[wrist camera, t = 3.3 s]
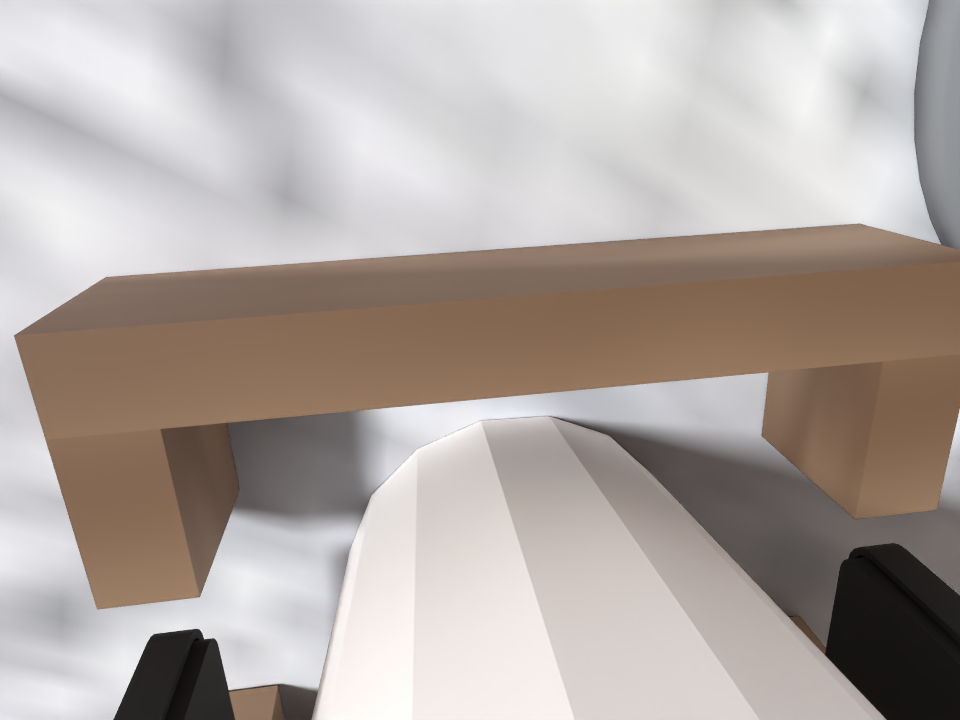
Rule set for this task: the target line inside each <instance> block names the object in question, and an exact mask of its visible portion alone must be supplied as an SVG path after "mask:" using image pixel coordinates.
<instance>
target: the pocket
mask: <svg viewBox="0 0 960 720" xmlns="http://www.w3.org/2000/svg"><path fill="white" fill-rule="evenodd" d="M14 337H15V340H16V344H17V347H18V350H19V354H20V357H21V360H22V363H23V367H24V370H25V373H26V377H27V380H28V383H29V387H30V390H31V393H32V396H33V400H34V403H35V406H36V410H37V413H38V416H39V419H40V423H41V426H42V429H43V433H44V436H45V439H46V443H47V446H48V449H49V452H50V456H51V459H52V462H53V466H54V469H55V472H56V475H57V479H58V482H59V485H60V489H61V492H62V495H63V499H64V502H65V505H66V508H67V512H68V515H69V518H70V522H71V525H72V528H73V531H74V535H75V538H76V541H77V545H78V548H79V551H80V555H81V558H82V561H83V564H84V568H85V571H86V574H87V578H88V581H89V584H90V587H91V591H92V594H93V597H94V601H95V604H96V607H97V609H105V608H113V607H121V606H130V605H138V604H147V603H155V602H164V601H172V600H181V599H189V598H197V597H200V595H201V593H202V590H203V587H204V584H205V582H206V579H207V576H208V574H209V571H210V568H211V566H212V563H213V560H214V558H215V555H216V552H217V550H218V547H219V544H220V541H221V539H222V536H223V533H224V531H225V528H226V525H227V523H228V520H229V517H230V515H231V512H232V509H233V507H234V504H235V501H236V499H237V496H238V493H239V490H240V489H239V484H238V479H237V474H236V469H235V464H234V458H233V453H232V448H231V443H230V438H229V433H228V428H227V423H231V422H241V421H252V420H263V419H273V418H284V417H295V416H305V415H316V414H327V413H337V412H348V411H359V410H370V409H380V408H391V407H402V406H412V405H423V404H434V403H444V402H455V401H466V400H476V399H487V398H498V397H509V396H519V395H530V394H541V393H551V392H562V391H573V390H583V389H594V388H605V387H615V386H626V385H637V384H647V383H658V382H669V381H680V380H690V379H701V378H712V377H722V376H733V375H744V374H754V373H765V372H769V376H768V384H767V393H766V402H765V410H764V419H763V428H762V437H763V438H764V439H766V440H767V441H768V442H769V443H770V444H771V445H772V446H773V447H775V448H776V449H777V450H778V451H779V452H780V453H781V454H782V455H783V456H785V457H786V458H787V459H788V460H789V461H790V462H791V463H792V464H794V465H795V466H796V467H797V468H798V469H799V470H800V471H801V472H802V473H804V474H805V475H806V476H807V477H808V478H809V479H810V480H811V481H813V482H814V483H815V484H816V485H817V486H818V487H819V488H820V489H821V490H823V491H824V492H825V493H826V494H827V495H828V496H829V497H830V498H832V499H833V500H834V501H835V502H836V503H837V504H838V505H839V506H841V507H842V508H843V509H844V510H845V511H846V512H847V513H848V514H849V515H851V516H852V517H853V518H854V519H864V518H872V517H880V516H889V515H897V514H906V513H914V512H923V511H931V510H937V506H938V502H939V497H940V493H941V489H942V484H943V480H944V475H945V471H946V467H947V462H948V458H949V453H950V449H951V445H952V440H953V436H954V431H955V427H956V422H957V418H958V414H959V409H960V250H958V249H954V248H950V247H946V246H943V245H939V244H935V243H931V242H927V241H924V240H920V239H916V238H912V237H908V236H904V235H901V234H897V233H893V232H889V231H885V230H882V229H878V228H874V227H870V226H866V225H863V224H849V225H834V226H820V227H806V228H792V229H778V230H764V231H750V232H736V233H722V234H708V235H694V236H680V237H665V238H651V239H637V240H623V241H609V242H595V243H581V244H567V245H553V246H539V247H525V248H511V249H496V250H482V251H468V252H454V253H440V254H426V255H412V256H398V257H384V258H370V259H356V260H341V261H327V262H313V263H299V264H285V265H271V266H257V267H243V268H229V269H215V270H201V271H187V272H172V273H158V274H144V275H130V276H116V277H105V278H104V279H102V280H101V281H99V282H97V283H96V284H94V285H93V286H91V287H90V288H88V289H86V290H85V291H83V292H82V293H80V294H79V295H77V296H75V297H74V298H72V299H71V300H69V301H68V302H66V303H64V304H63V305H61V306H60V307H58V308H57V309H55V310H53V311H52V312H50V313H49V314H47V315H46V316H44V317H42V318H41V319H39V320H38V321H36V322H35V323H33V324H31V325H30V326H28V327H27V328H25V329H24V330H22V331H20V332H19V333H17V334H16V335H14ZM789 618H790V619H791V620H792V621H793V622H794V624H795V625H796V626H797V627H798V628H799V629H800V630H801V631H802V632H803V633H804V634H805V635H806V636H807V637H808V638H809V639H810V640H811V641H812V642H813V643H814V644H815V645H816V647H817V648H818V649H819V650H820V651H821V652H822V653H823V654H824V655H825V652H826V648H825V647H824V646H823V645H822V643H821V642H820V641H819V640H818V638H817V637H816V636H815V635H814V633H813V632H812V631H811V630H810V628H809V627H808V626H807V625H806V623H805V622H804V621H803V620H802V618H801V617H800V616H795V617H789ZM229 695H230V699H231V703H232V708H233V712H234V716H235V720H285V719H284V714H283V709H282V704H281V698H280V693H279V688H278V685H276V686H269V687H261V688H253V689H246V690H238V691H231V692H229Z"/></svg>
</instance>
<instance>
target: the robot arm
mask: <svg viewBox="0 0 960 720" xmlns="http://www.w3.org/2000/svg"><path fill="white" fill-rule="evenodd" d="M825 656H826V657H827V658H828V659H829V660H830V661H831V662H832V663H833V664H834V665H835V666H836V667H837V668H838V669H839V671H840V672H841V673H842V674H843V675H844V676H845V677H846V678H847V679H848V680H849V681H850V682H851V683H852V684H853V685H854V686H855V687H856V688H857V689H858V690H859V691H860V692H861V694H862V695H863V696H864V697H865V698H866V699H867V700H868V701H869V702H870V703H871V704H872V705H873V706H874V707H875V708H876V709H877V710H878V711H879V712H880V713H881V714H882V715H883V717H884V718H885V719H886V720H960V596H959V595H958V594H957V593H956V592H955V591H954V590H952V589H951V588H950V587H949V586H948V585H947V584H945V583H944V582H943V581H942V580H941V579H940V578H939V577H937V576H936V575H935V574H934V573H933V572H932V571H930V570H929V569H928V568H927V567H926V566H925V565H923V564H922V563H921V562H920V561H919V560H918V559H917V558H915V557H914V556H913V555H912V554H911V553H910V552H908V551H907V550H906V549H905V548H903V547H902V546H900V545H898V544H894V543H891V544H883V545H875V546H866V547H859V548H855V549H853V551H852V552H851V553H850V555H849V558H848V559H847V560H844V561H843V562H842V564H841V567H840V572H839V577H838V583H837V589H836V595H835V600H834V606H833V612H832V618H831V623H830V629H829V635H828V641H827V646H826V652H825ZM114 720H235V716H234V712H233V708H232V703H231V699H230V695H229V690H228V686H227V682H226V677H225V673H224V669H223V664H222V660H221V656H220V651H219V647H218V644H217V641H216V640H215V639H213V638H212V639H204V638H203V635H202V633H201V631H200V630H199V629H192V630H184V631H176V632H168V633H159V634H154V635H153V636H151V637H150V639H149V641H148V642H147V645H146V647H145V649H144V651H143V654H142V656H141V658H140V660H139V663H138V665H137V667H136V670H135V672H134V674H133V676H132V679H131V681H130V683H129V686H128V688H127V690H126V692H125V695H124V697H123V699H122V702H121V704H120V706H119V708H118V711H117V713H116V715H115V718H114Z"/></svg>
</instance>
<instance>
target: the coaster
mask: <svg viewBox="0 0 960 720" xmlns="http://www.w3.org/2000/svg"><path fill="white" fill-rule="evenodd" d="M914 129H915V146H916V154H917V162H918V170H919V178H920V183H921V187H922V190H923V194H924V198H925V201H926V205H927V209H928V212H929V216H930V219H931V222H932V224H933V226H934V228H935V231H936V233H937V235H938V237H939V240H940V242H941V244H942V245H943V246H946V247H950V248H954V249H958V250H960V0H930V1H929V5H928V10H927V14H926V19H925V23H924V28H923V32H922V36H921V41H920V48H919V57H918V66H917V74H916V83H915V92H914Z"/></svg>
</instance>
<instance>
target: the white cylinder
mask: <svg viewBox="0 0 960 720" xmlns="http://www.w3.org/2000/svg"><path fill="white" fill-rule="evenodd" d="M312 720H886V719H885V718H884V717H883V715H882V714H881V713H880V712H879V711H878V710H877V709H876V708H875V707H874V706H873V705H872V704H871V703H870V702H869V701H868V700H867V699H866V698H865V697H864V696H863V695H862V694H861V692H860V691H859V690H858V689H857V688H856V687H855V686H854V685H853V684H852V683H851V682H850V681H849V680H848V679H847V678H846V677H845V676H844V675H843V674H842V673H841V672H840V671H839V669H838V668H837V667H836V666H835V665H834V664H833V663H832V662H831V661H830V660H829V659H828V658H827V657H826V656H825V655H824V654H823V653H822V652H821V651H820V650H819V649H818V648H817V647H816V645H815V644H814V643H813V642H812V641H811V640H810V639H809V638H808V637H807V636H806V635H805V634H804V633H803V632H802V631H801V630H800V629H799V628H798V627H797V626H796V625H795V624H794V622H793V621H792V620H791V619H790V618H789V617H788V616H787V615H786V614H785V613H784V612H783V611H782V610H781V609H780V608H779V607H778V606H777V605H776V604H775V603H774V602H773V601H772V599H771V598H770V597H769V596H768V595H767V594H766V593H765V592H764V591H763V590H762V589H761V588H760V587H759V586H758V585H757V584H756V583H755V582H754V581H753V580H752V579H751V578H750V576H749V575H748V574H747V573H746V572H745V571H744V570H743V569H742V568H741V567H740V566H739V565H738V564H737V563H736V562H735V561H734V560H733V559H732V558H731V557H730V556H729V555H728V553H727V552H726V551H725V550H724V549H723V548H722V547H721V546H720V545H719V544H718V543H717V542H716V541H715V540H714V539H713V538H712V537H711V536H710V535H709V534H708V533H707V532H706V530H705V529H704V528H703V527H702V526H701V525H700V524H699V523H698V522H697V521H696V520H695V519H694V518H693V517H692V516H691V515H690V514H689V513H688V512H687V511H686V510H685V509H684V507H683V506H682V505H681V504H680V503H679V502H678V501H677V500H676V499H675V498H674V497H673V496H672V495H671V494H670V493H669V492H668V491H667V490H666V489H665V488H664V487H663V486H662V484H661V483H660V482H659V481H658V480H657V479H656V478H655V477H654V476H653V475H652V474H651V473H650V472H649V471H648V470H647V469H646V468H644V467H643V466H642V465H641V464H640V463H639V462H638V461H637V460H636V459H634V458H633V457H632V456H631V455H630V454H629V453H628V452H627V451H626V450H624V449H623V448H622V447H621V446H620V445H619V444H618V443H617V442H616V441H614V440H613V439H612V438H611V437H610V436H609V435H606V434H603V433H600V432H597V431H594V430H591V429H588V428H584V427H581V426H578V425H575V424H572V423H569V422H566V421H562V420H559V419H556V418H553V417H550V416H543V417H528V418H514V419H499V420H484V421H479V422H477V423H475V424H472V425H470V426H468V427H466V428H463V429H461V430H459V431H457V432H454V433H452V434H450V435H448V436H445V437H443V438H441V439H439V440H437V441H434V442H432V443H430V444H428V445H425V446H423V447H421V448H419V449H417V450H416V451H415V452H414V453H413V454H412V455H411V456H410V457H409V458H408V459H407V460H406V461H405V462H404V463H403V464H402V465H401V466H400V467H399V468H398V469H397V470H396V471H395V472H394V473H393V474H392V475H391V476H390V477H389V478H388V479H387V480H386V481H385V482H384V483H383V484H382V485H381V486H380V487H379V488H378V489H377V490H376V491H375V492H374V493H373V494H372V495H371V498H370V500H369V503H368V506H367V508H366V511H365V513H364V516H363V518H362V521H361V524H360V526H359V529H358V531H357V534H356V536H355V539H354V542H353V544H352V547H351V549H350V553H349V557H348V562H347V566H346V571H345V575H344V579H343V584H342V588H341V593H340V597H339V601H338V606H337V610H336V615H335V619H334V623H333V628H332V632H331V637H330V641H329V645H328V650H327V654H326V659H325V663H324V667H323V672H322V676H321V680H320V685H319V689H318V694H317V698H316V702H315V707H314V711H313V716H312Z"/></svg>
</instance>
